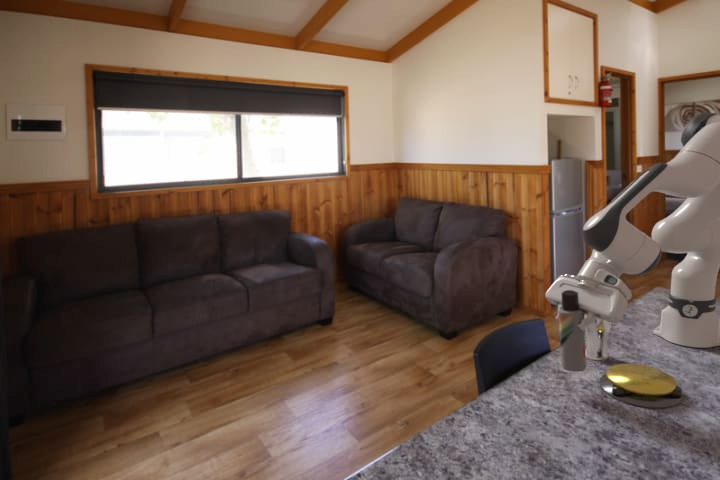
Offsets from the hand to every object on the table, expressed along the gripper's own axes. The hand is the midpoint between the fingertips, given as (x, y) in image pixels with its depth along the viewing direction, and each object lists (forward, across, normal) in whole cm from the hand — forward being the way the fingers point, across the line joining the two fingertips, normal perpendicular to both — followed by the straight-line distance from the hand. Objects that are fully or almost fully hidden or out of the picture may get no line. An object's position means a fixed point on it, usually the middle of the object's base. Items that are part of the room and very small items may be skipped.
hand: (568, 324), depth 117 cm
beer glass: (-3, -8, +28) cm, 29 cm away
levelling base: (+2, +10, +22) cm, 25 cm away
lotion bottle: (+8, +1, +9) cm, 12 cm away
